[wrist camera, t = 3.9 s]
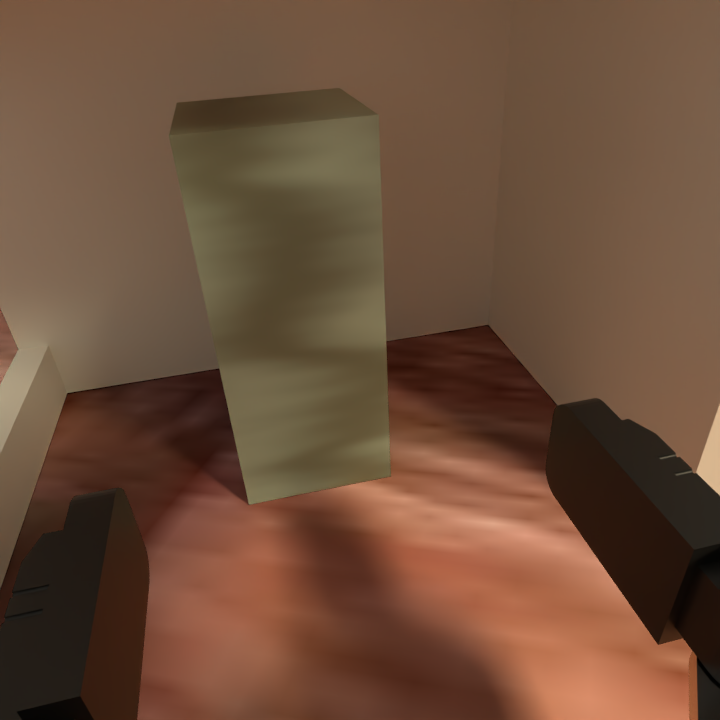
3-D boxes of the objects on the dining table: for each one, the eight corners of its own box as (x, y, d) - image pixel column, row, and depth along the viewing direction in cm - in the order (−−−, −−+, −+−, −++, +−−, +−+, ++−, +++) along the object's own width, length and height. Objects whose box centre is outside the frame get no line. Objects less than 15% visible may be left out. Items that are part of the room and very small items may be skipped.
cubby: (500, 310, 31) (542, -183, 20) (707, 531, 18) (1094, -472, 8) (44, 382, 27) (-185, -171, 17) (-94, 720, 14) (-1355, -667, 4)
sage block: (359, 396, 25) (339, 87, 19) (390, 476, 21) (378, 115, 14) (241, 417, 24) (176, 102, 18) (248, 504, 20) (168, 135, 14)
